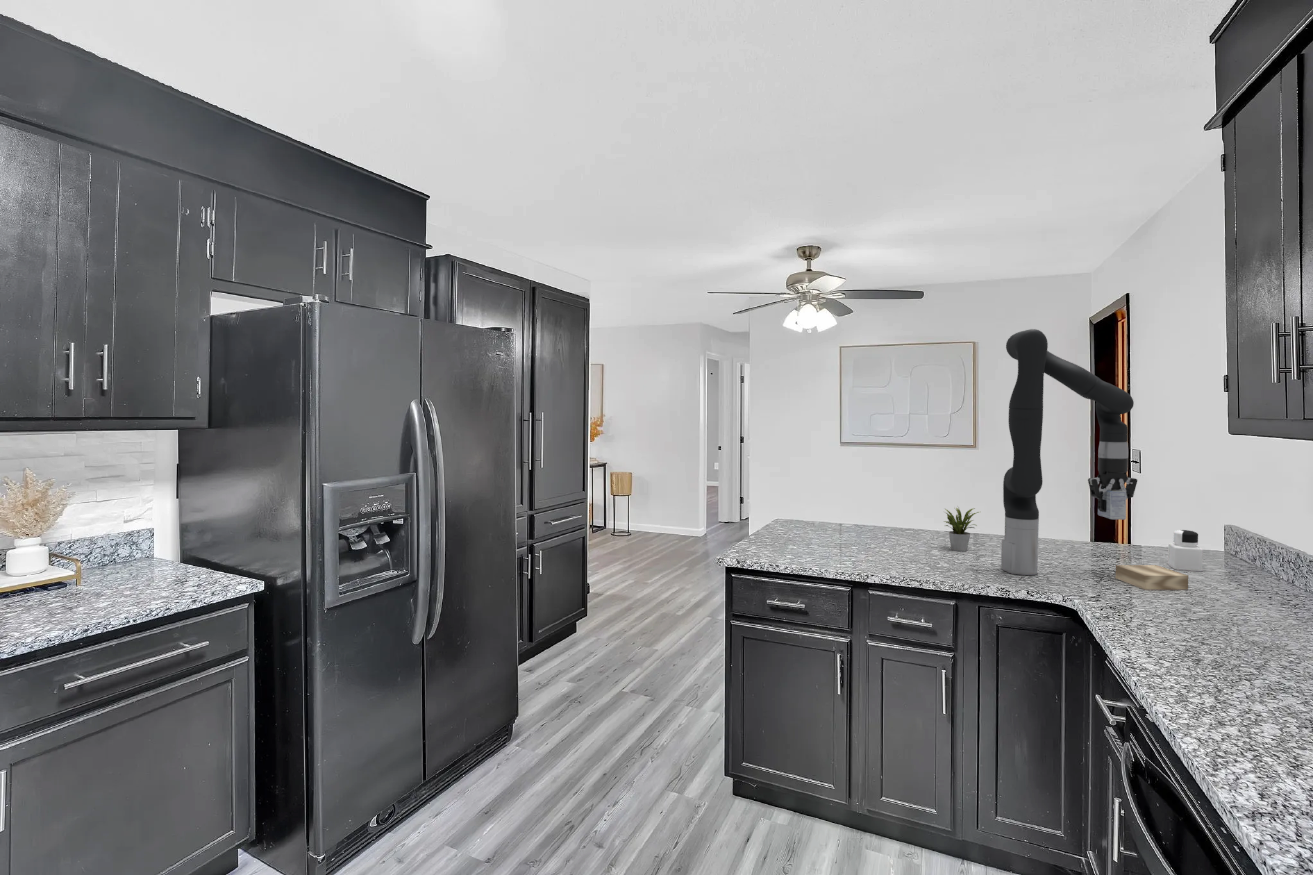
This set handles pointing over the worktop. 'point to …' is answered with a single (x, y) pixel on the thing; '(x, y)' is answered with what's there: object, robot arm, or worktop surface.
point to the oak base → (1152, 577)
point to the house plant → (959, 530)
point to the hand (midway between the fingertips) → (1111, 511)
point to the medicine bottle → (1185, 551)
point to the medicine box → (1115, 505)
